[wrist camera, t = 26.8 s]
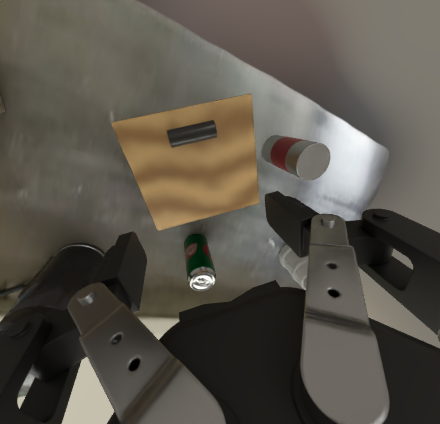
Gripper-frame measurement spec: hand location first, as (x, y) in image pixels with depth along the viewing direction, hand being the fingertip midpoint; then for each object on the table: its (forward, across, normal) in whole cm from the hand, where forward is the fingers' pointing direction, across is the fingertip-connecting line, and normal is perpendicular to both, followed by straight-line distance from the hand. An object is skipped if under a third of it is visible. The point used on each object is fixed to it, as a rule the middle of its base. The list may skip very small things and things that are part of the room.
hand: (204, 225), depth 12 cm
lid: (+17, -2, +1) cm, 17 cm away
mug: (+26, -21, +29) cm, 45 cm away
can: (+26, -18, +3) cm, 31 cm away
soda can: (+26, +2, +19) cm, 33 cm away
